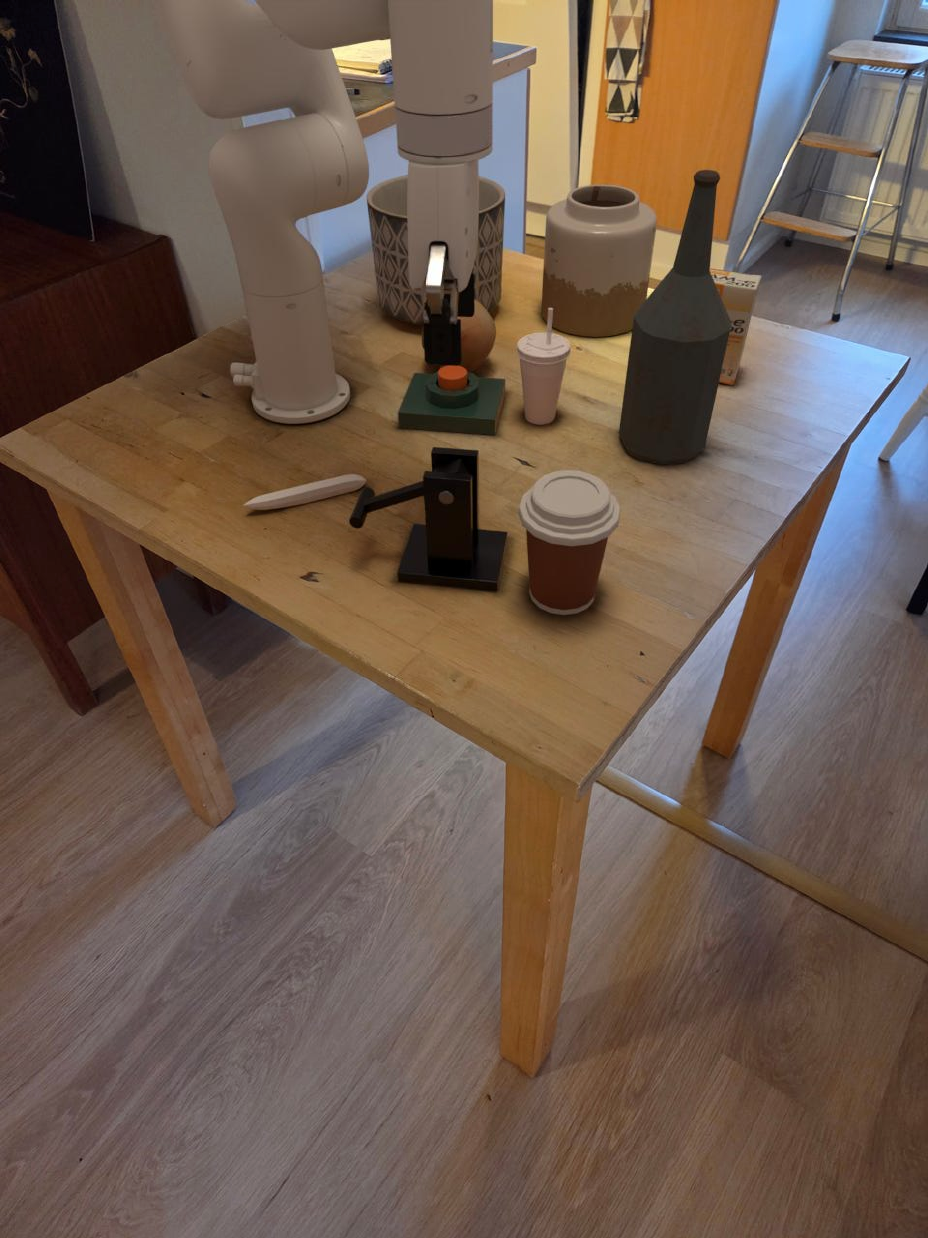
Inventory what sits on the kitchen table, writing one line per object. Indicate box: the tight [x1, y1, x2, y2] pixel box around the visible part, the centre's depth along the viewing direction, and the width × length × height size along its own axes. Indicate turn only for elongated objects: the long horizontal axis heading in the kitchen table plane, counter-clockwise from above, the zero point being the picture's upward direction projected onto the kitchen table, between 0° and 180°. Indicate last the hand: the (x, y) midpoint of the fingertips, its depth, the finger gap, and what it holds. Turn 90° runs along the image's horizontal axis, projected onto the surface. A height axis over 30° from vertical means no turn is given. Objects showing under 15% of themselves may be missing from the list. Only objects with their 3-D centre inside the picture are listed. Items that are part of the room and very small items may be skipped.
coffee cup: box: [517, 469, 622, 616], centre depth 79 cm, size 9×9×12 cm
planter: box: [366, 174, 506, 326], centre depth 123 cm, size 19×19×16 cm
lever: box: [348, 459, 469, 530], centre depth 81 cm, size 12×5×2 cm, turn 81°
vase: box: [541, 184, 658, 338], centre depth 121 cm, size 15×15×17 cm
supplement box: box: [710, 267, 762, 386], centre depth 109 cm, size 8×5×13 cm, turn 68°
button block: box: [397, 371, 506, 436], centre depth 106 cm, size 12×10×4 cm
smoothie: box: [516, 308, 571, 425], centre depth 101 cm, size 6×6×14 cm
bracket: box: [396, 446, 509, 592], centre depth 82 cm, size 10×8×12 cm
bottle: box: [618, 169, 732, 466], centre depth 91 cm, size 10×10×30 cm
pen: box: [242, 473, 367, 511], centre depth 94 cm, size 2×14×2 cm, turn 113°
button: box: [437, 366, 467, 391], centre depth 104 cm, size 4×4×2 cm
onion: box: [421, 300, 497, 373], centre depth 112 cm, size 10×10×10 cm
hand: (451, 338), depth 78 cm, fingers open, 9 cm apart
